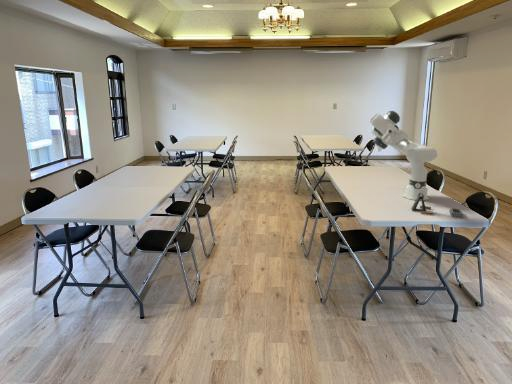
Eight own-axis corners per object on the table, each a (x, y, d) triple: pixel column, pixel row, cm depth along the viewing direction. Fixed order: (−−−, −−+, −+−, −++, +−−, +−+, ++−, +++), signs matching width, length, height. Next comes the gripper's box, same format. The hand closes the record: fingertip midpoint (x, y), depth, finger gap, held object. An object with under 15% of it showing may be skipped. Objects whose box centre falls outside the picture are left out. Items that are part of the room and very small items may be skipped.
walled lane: (419, 207, 267) (420, 205, 267) (430, 208, 265) (431, 206, 265) (420, 213, 253) (421, 211, 252) (432, 215, 251) (432, 213, 250)
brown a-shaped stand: (425, 210, 262) (427, 193, 259) (426, 212, 256) (429, 195, 253) (411, 208, 265) (413, 191, 262) (412, 210, 259) (414, 193, 256)
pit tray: (449, 211, 260) (450, 207, 259) (459, 213, 257) (460, 208, 257) (451, 216, 249) (452, 212, 248) (462, 218, 247) (463, 213, 246)
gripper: (395, 132, 266) (410, 145, 261) (380, 139, 253) (396, 153, 248) (400, 125, 261) (416, 138, 257) (386, 132, 248) (402, 146, 244)
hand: (406, 146), depth 252 cm, fingers open, 8 cm apart
